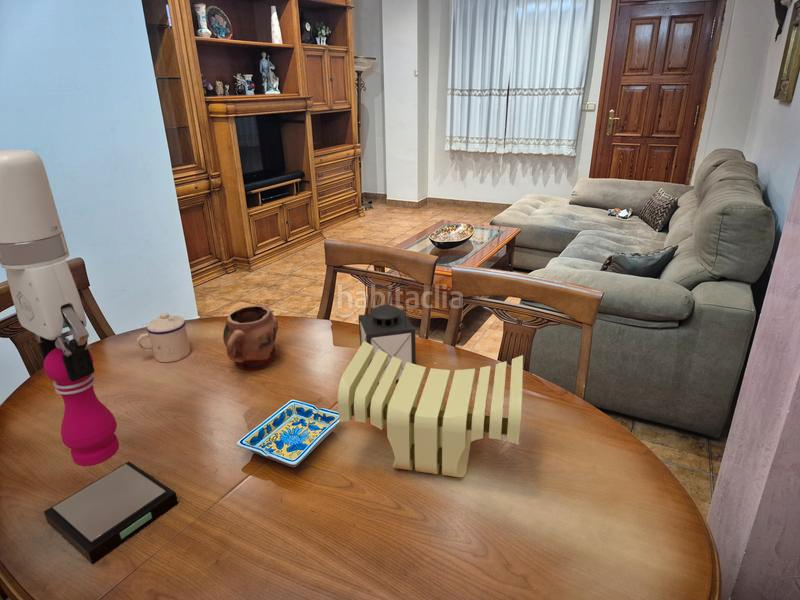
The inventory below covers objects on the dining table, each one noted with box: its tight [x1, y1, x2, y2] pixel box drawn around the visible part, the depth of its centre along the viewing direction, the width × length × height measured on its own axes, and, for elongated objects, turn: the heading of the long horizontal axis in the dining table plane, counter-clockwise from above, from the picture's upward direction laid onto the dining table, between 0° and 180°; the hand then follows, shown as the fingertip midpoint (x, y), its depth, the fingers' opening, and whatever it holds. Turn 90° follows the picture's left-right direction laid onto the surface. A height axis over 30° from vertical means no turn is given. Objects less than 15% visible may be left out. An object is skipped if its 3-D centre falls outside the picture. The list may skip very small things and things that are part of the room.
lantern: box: [357, 260, 417, 387], centre depth 117 cm, size 11×11×28 cm
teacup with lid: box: [136, 312, 191, 363], centre depth 130 cm, size 12×9×12 cm
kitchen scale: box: [43, 461, 179, 565], centre depth 83 cm, size 14×14×3 cm
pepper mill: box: [43, 337, 120, 467], centre depth 75 cm, size 7×7×20 cm
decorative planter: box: [222, 304, 279, 371], centre depth 124 cm, size 20×12×14 cm, turn 174°
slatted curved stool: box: [337, 341, 524, 478], centre depth 92 cm, size 30×16×18 cm, turn 77°
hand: (70, 369), depth 73 cm, fingers closed on pepper mill, 6 cm apart
